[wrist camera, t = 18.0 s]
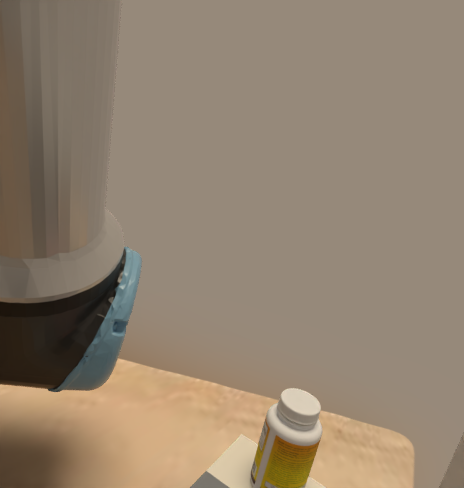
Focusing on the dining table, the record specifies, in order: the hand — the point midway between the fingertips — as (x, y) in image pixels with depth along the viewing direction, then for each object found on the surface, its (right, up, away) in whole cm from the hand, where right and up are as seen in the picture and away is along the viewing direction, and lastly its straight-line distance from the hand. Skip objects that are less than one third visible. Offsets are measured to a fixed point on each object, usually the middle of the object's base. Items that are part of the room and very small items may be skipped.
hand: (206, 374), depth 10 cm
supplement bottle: (+5, -20, +28) cm, 35 cm away
